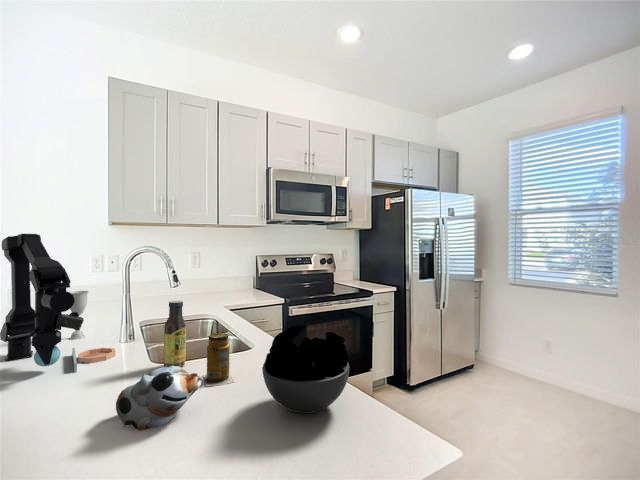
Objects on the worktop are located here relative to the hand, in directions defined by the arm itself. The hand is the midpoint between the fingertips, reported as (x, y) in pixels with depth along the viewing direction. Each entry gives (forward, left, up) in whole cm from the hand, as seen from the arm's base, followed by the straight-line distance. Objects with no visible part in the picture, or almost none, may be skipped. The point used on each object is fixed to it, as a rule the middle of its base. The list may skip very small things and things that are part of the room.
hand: (47, 361), depth 96 cm
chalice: (-37, +9, -3) cm, 38 cm away
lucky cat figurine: (+46, +20, -3) cm, 50 cm away
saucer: (-6, +13, -3) cm, 14 cm away
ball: (0, 0, +2) cm, 2 cm away
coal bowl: (+63, +48, -3) cm, 79 cm away
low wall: (-4, +7, -3) cm, 8 cm away
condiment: (+35, +38, -3) cm, 51 cm away
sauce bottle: (+18, +31, -3) cm, 36 cm away
